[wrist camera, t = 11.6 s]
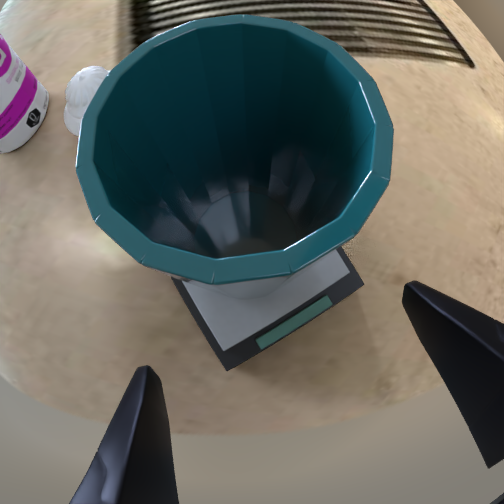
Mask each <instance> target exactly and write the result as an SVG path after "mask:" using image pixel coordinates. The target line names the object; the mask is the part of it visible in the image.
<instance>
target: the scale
mask: <svg viewBox="0 0 504 504" xmlns="http://www.w3.org/2000/svg"><path fill="white" fill-rule="evenodd" d="M170 277H171V276H170ZM171 279H172V280H173V282H174V284H175V286H176V288H177V289H178V291H179V293H180V295H181V296H182V298H183V300H184V302H185V304H186V305H187V307H188V309H189V310H190V312H191V314H192V316H193V317H194V319H195V321H196V322H197V324H198V326H199V327H200V329H201V331H202V332H203V334H204V336H205V337H206V339H207V341H208V342H209V344H210V346H211V347H212V349H213V350H214V352H215V354H216V355H217V357H218V358H219V360H220V362H221V363H222V365H223V366H224V368H225V369H226V371H228V370H230V369H232V368H234V367H236V366H237V365H239V364H241V363H243V362H244V361H246V360H248V359H250V358H251V357H253V356H255V355H256V354H258V353H260V352H261V351H263V350H265V349H266V348H268V347H270V346H271V345H273V344H275V343H276V342H278V341H280V340H281V339H283V338H285V337H286V336H288V335H289V334H291V333H293V332H294V331H296V330H297V329H299V328H300V327H302V326H304V325H305V324H307V323H308V322H310V321H311V320H313V319H314V318H316V317H317V316H319V315H321V314H322V313H324V312H325V311H327V310H328V309H330V308H331V307H333V306H334V305H335V304H337V303H338V302H340V301H341V300H343V299H344V298H346V297H347V296H349V295H350V294H352V293H353V292H354V291H356V290H357V289H359V288H360V287H362V286H363V285H364V283H363V281H362V279H361V278H360V276H359V274H358V273H357V271H356V270H355V268H354V266H353V265H352V263H351V261H350V260H349V258H348V257H347V255H346V253H345V252H344V250H343V249H342V247H340V248H339V249H337V250H336V251H334V252H333V253H332V254H330V255H329V256H327V257H326V258H324V259H323V260H322V261H320V262H319V263H317V264H316V265H314V266H313V267H312V268H310V269H309V270H307V271H306V272H304V273H303V274H301V275H300V276H298V277H297V278H295V279H294V280H293V281H291V282H290V283H288V284H287V285H285V286H283V287H282V288H280V289H278V290H277V291H275V292H273V293H272V294H270V295H268V296H267V297H263V298H256V299H249V300H238V299H234V298H230V297H227V296H223V295H219V294H217V293H214V292H211V291H208V290H206V289H203V288H200V287H197V286H195V285H192V284H189V283H187V282H184V281H181V280H179V279H176V278H174V277H171Z"/></svg>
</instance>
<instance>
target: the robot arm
mask: <svg viewBox="0 0 504 504" xmlns="http://www.w3.org/2000/svg"><path fill="white" fill-rule="evenodd" d="M402 304H403V307H404V309H405V311H406V313H407V315H408V317H409V319H410V321H411V323H412V325H413V327H414V329H415V331H416V334H417V336H418V338H419V340H420V341H421V343H422V345H423V346H424V348H425V350H426V351H427V353H428V355H429V356H430V358H431V360H432V362H433V363H434V365H435V367H436V368H437V370H438V372H439V374H440V375H441V377H442V379H443V381H444V382H445V384H446V386H447V388H448V389H449V391H450V393H451V395H452V397H453V399H454V400H455V402H456V404H457V406H458V408H459V410H460V412H461V414H462V416H463V417H464V419H465V421H466V423H467V425H468V426H469V430H470V431H471V434H472V436H473V438H474V440H475V442H476V444H477V446H478V448H479V450H480V452H481V454H482V456H483V459H484V461H485V463H486V465H487V467H488V468H491V467H492V466H494V465H495V464H497V463H498V462H500V461H501V460H503V459H504V324H503V323H501V322H499V321H497V320H494V319H493V318H491V317H489V316H487V315H485V314H483V313H482V312H480V311H478V310H476V309H474V308H472V307H470V306H468V305H466V304H464V303H462V302H459V301H457V300H455V299H453V298H451V297H449V296H447V295H445V294H443V293H441V292H439V291H437V290H435V289H433V288H431V287H429V286H426V285H424V284H422V283H420V282H418V281H411V282H409V283H406V284H405V286H404V291H403V297H402ZM69 504H179V501H178V494H177V487H176V480H175V473H174V464H173V455H172V446H171V436H170V426H169V419H168V414H167V409H166V404H165V399H164V394H163V388H162V383H161V380H160V378H159V377H158V375H157V374H156V373H155V372H154V370H153V369H152V368H151V367H150V366H149V365H146V366H141V367H138V368H137V369H136V371H135V373H134V375H133V377H132V379H131V381H130V383H129V385H128V387H127V389H126V391H125V393H124V395H123V397H122V399H121V401H120V403H119V406H118V408H117V410H116V412H115V414H114V416H113V418H112V420H111V422H110V424H109V426H108V428H107V431H106V433H105V435H104V437H103V439H102V441H101V443H100V446H99V448H98V452H96V454H95V456H94V459H93V461H92V463H91V465H90V467H89V469H88V471H87V473H86V475H85V477H84V479H83V480H82V482H81V484H80V486H79V487H78V489H77V491H76V492H75V494H74V496H73V498H72V499H71V501H70V503H69ZM490 504H504V493H503V494H502V495H500V496H499V497H498V498H497V499H495V500H494V501H493V502H491V503H490Z"/></svg>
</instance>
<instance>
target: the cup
mask: <svg viewBox="0 0 504 504" xmlns="http://www.w3.org/2000/svg"><path fill="white" fill-rule="evenodd" d="M393 135H394V129H393V124H392V121H391V118H390V116H389V113H388V111H387V108H386V106H385V103H384V101H383V98H382V96H381V94H380V91H379V89H378V87H377V84H376V82H375V81H374V79H373V78H372V77H371V76H370V75H369V74H368V72H367V71H366V70H365V69H364V68H363V67H362V66H361V65H360V64H359V63H358V62H357V61H356V60H355V59H354V58H353V57H352V56H351V55H350V54H349V53H348V52H347V51H346V50H345V49H344V48H343V47H342V46H340V45H339V44H338V43H336V42H334V41H332V40H330V39H328V38H326V37H324V36H322V35H320V34H318V33H316V32H314V31H312V30H310V29H308V28H306V27H304V26H301V25H299V24H297V23H293V22H291V21H285V20H280V19H274V18H268V17H261V16H254V15H246V14H245V15H242V14H240V15H230V16H221V17H213V18H206V19H199V20H194V21H190V22H188V23H185V24H183V25H180V26H178V27H175V28H173V29H171V30H168V31H166V32H164V33H162V34H159V35H157V36H155V37H153V38H151V39H149V40H147V41H146V42H144V43H142V44H141V45H140V46H139V47H137V48H136V49H135V50H134V51H133V52H131V53H130V54H129V55H128V56H127V57H126V58H124V59H123V60H122V61H121V62H120V63H119V64H118V65H117V66H115V67H114V68H113V69H112V70H111V71H110V72H109V73H108V75H106V77H105V78H104V80H103V81H102V83H101V85H100V86H99V88H98V90H97V91H96V93H95V95H94V97H93V98H92V100H91V102H90V104H89V106H88V107H87V109H86V111H85V113H84V115H83V119H82V120H81V126H80V133H79V141H78V149H77V158H76V173H77V176H78V179H79V182H80V185H81V188H82V191H83V193H84V196H85V199H86V202H87V205H88V207H89V210H90V213H91V215H92V218H93V220H94V221H95V223H96V224H97V225H98V226H99V227H100V228H101V229H102V230H103V231H104V232H105V233H106V234H107V235H108V236H109V237H111V238H112V239H113V240H114V241H115V242H116V243H117V244H118V245H119V246H120V247H121V248H123V249H124V250H125V251H126V252H127V253H128V254H129V255H130V256H131V257H133V258H134V259H135V260H136V261H137V262H138V263H140V264H142V265H143V266H145V267H148V268H150V269H153V270H155V271H158V272H161V273H163V274H166V275H168V276H171V277H174V278H176V279H179V280H181V281H184V282H187V283H189V284H192V285H195V286H197V287H200V288H203V289H206V290H208V291H211V292H214V293H217V294H219V295H223V296H227V297H230V298H234V299H238V300H249V299H256V298H263V297H267V296H268V295H270V294H272V293H273V292H275V291H277V290H278V289H280V288H282V287H283V286H285V285H287V284H288V283H290V282H291V281H293V280H294V279H295V278H297V277H298V276H300V275H301V274H303V273H304V272H306V271H307V270H309V269H310V268H312V267H313V266H314V265H316V264H317V263H319V262H320V261H322V260H323V259H324V258H326V257H327V256H329V255H330V254H332V253H333V252H334V251H336V250H337V249H339V248H340V247H342V246H343V245H344V244H346V243H347V242H349V241H350V240H351V239H353V238H354V237H355V236H356V235H357V234H358V233H359V231H360V230H361V228H362V227H363V225H364V224H365V222H366V220H367V219H368V217H369V216H370V214H371V213H372V211H373V209H374V208H375V206H376V205H377V203H378V201H379V200H380V198H381V197H382V195H383V193H384V192H385V190H386V188H387V187H388V185H389V181H390V176H391V164H392V152H393Z"/></svg>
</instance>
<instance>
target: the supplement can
mask: <svg viewBox="0 0 504 504" xmlns="http://www.w3.org/2000/svg"><path fill="white" fill-rule="evenodd" d="M48 102H49V98H48V92H47V90H46V89H45V88H44V87H43V85H42V84H41V83H40V82H39V81H38V80H37V78H36V77H35V76H34V75H33V74H32V72H31V71H30V70H29V69H28V68H27V66H26V65H25V64H24V63H23V62H22V60H21V59H20V58H19V57H18V55H17V54H16V53H15V52H14V51H13V49H12V48H11V47H10V46H9V44H8V43H7V42H6V41H5V39H4V38H3V37H2V36H1V34H0V153H7V152H10V151H12V150H15V149H17V148H19V147H20V146H22V145H23V144H25V143H26V142H27V141H28V140H29V139H30V138H31V137H32V136H33V134H34V133H35V132H36V131H37V129H38V128H39V127H40V125H41V123H42V121H43V119H44V117H45V114H46V110H47V106H48Z"/></svg>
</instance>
